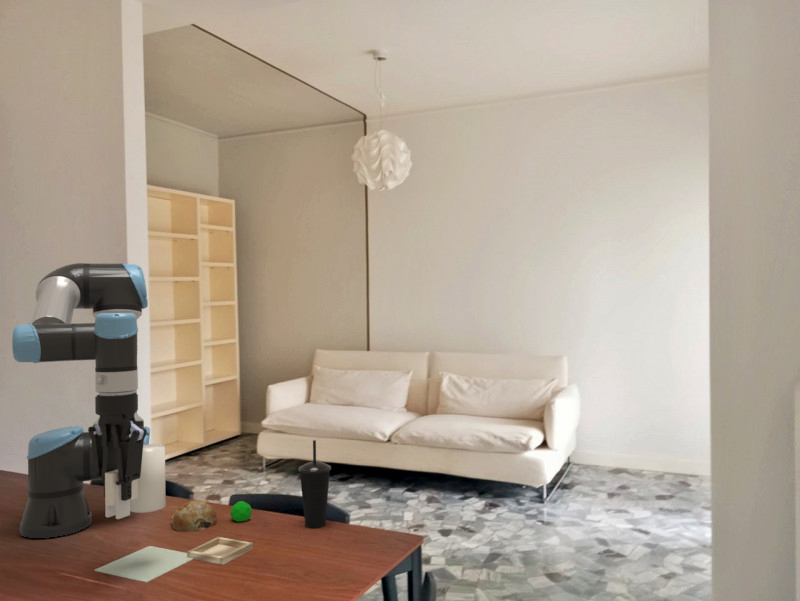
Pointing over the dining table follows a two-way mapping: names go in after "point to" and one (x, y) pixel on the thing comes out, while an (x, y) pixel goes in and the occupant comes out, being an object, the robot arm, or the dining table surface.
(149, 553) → the plate
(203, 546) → the holder
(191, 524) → the bread roll
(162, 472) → the white cylinder with tab
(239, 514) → the polyhedron
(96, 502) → the dining table surface
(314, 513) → the drinking cup
